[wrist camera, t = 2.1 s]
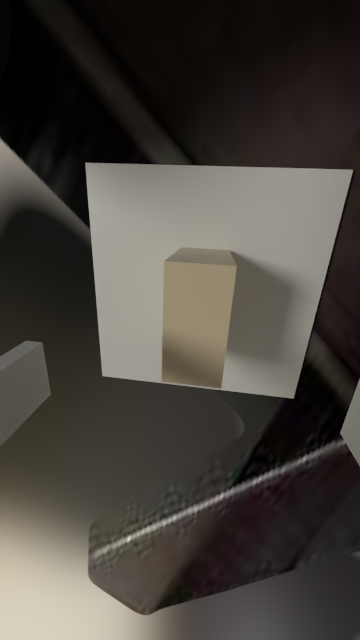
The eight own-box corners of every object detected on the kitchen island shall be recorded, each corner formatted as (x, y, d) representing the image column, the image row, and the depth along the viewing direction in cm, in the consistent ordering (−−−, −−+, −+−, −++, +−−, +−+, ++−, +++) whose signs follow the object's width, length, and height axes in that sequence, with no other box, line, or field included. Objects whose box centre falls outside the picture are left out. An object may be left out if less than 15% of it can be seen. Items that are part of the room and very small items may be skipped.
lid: (90, 165, 21) (9, 129, 13) (346, 172, 19) (449, 134, 11) (106, 370, 28) (61, 433, 20) (290, 392, 26) (325, 471, 18)
